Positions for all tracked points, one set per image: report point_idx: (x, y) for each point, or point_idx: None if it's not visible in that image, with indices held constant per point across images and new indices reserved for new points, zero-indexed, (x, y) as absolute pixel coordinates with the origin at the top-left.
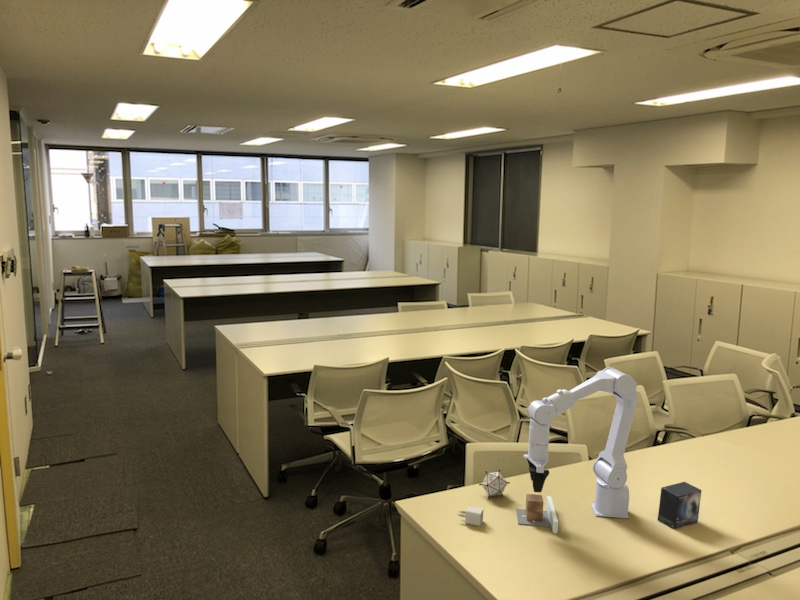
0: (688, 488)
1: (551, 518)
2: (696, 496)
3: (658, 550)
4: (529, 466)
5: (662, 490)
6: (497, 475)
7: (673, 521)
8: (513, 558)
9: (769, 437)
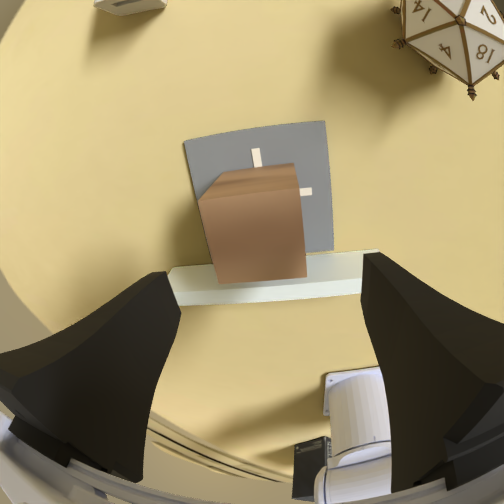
0: None
1: None
2: None
3: (207, 424)
4: (421, 322)
5: None
6: (476, 22)
7: (296, 455)
8: (18, 169)
9: None
